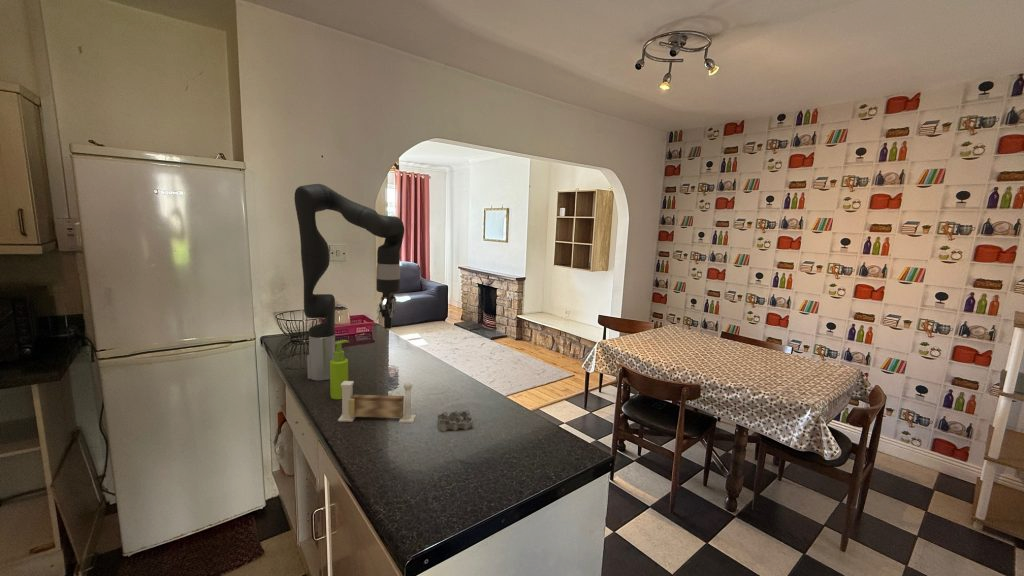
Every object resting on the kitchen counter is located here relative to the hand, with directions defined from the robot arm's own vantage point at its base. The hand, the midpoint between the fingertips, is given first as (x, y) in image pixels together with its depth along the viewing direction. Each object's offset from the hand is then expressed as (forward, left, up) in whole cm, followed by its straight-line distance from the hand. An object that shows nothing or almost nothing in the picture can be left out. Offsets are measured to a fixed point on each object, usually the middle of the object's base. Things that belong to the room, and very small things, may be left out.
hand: (388, 328), depth 135 cm
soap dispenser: (-18, +6, -27) cm, 33 cm away
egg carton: (+24, -14, -28) cm, 39 cm away
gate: (0, -11, -26) cm, 28 cm away
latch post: (-10, -11, -27) cm, 31 cm away
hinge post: (+9, -11, -27) cm, 31 cm away
